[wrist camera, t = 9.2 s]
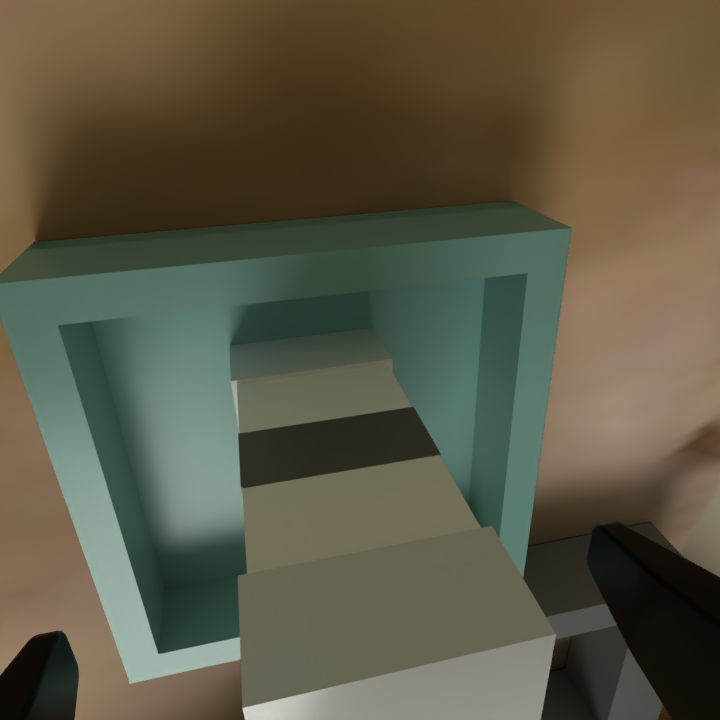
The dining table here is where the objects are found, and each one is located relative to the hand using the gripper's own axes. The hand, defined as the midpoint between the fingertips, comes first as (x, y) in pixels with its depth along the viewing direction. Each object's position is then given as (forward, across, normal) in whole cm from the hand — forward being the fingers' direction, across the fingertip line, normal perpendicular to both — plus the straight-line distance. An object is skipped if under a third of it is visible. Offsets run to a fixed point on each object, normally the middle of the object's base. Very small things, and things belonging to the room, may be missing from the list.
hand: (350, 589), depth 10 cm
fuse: (+5, 0, 0) cm, 5 cm away
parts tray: (+5, 0, 0) cm, 5 cm away
